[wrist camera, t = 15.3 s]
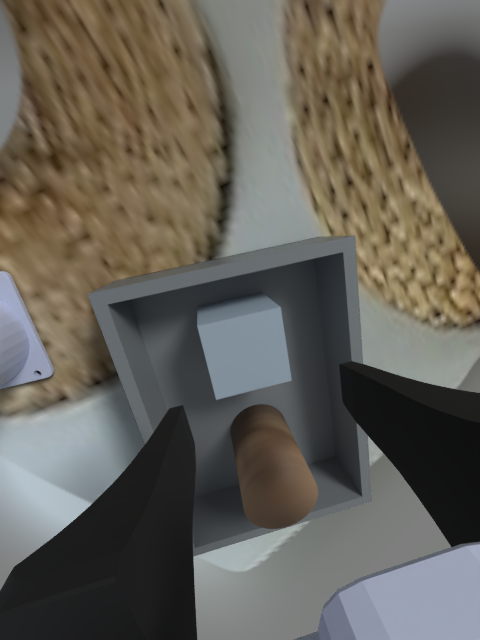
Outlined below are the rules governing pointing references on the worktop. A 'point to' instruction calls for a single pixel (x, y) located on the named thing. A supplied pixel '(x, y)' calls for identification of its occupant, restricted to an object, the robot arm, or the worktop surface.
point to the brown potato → (271, 469)
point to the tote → (289, 397)
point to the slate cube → (243, 344)
